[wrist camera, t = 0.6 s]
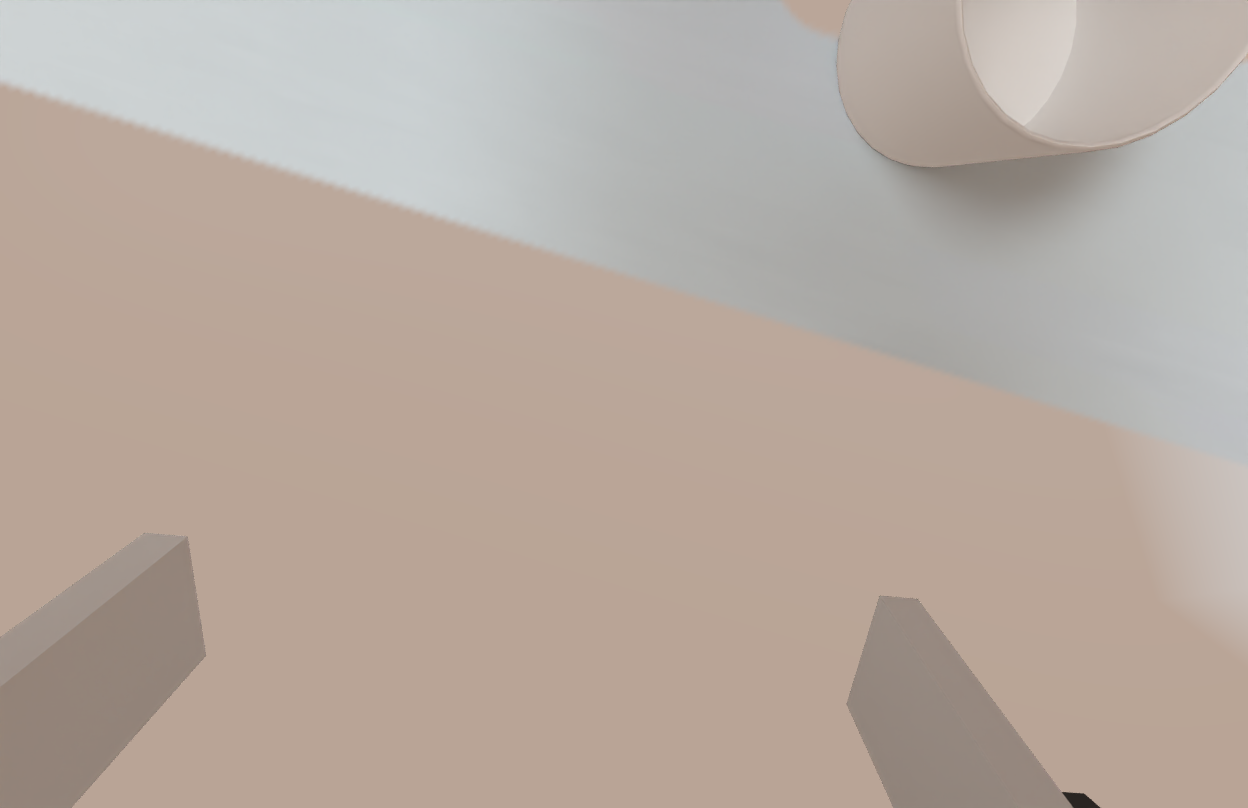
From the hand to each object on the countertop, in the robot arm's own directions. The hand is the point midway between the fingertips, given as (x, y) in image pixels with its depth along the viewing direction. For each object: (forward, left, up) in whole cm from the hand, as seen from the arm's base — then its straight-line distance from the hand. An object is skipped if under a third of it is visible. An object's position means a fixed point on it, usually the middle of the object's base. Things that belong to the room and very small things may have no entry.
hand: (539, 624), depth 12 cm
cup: (-15, +19, -27) cm, 36 cm away
